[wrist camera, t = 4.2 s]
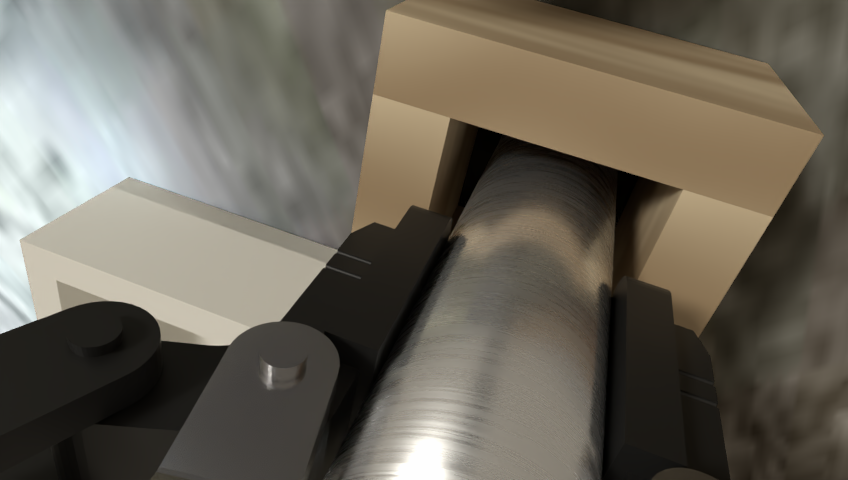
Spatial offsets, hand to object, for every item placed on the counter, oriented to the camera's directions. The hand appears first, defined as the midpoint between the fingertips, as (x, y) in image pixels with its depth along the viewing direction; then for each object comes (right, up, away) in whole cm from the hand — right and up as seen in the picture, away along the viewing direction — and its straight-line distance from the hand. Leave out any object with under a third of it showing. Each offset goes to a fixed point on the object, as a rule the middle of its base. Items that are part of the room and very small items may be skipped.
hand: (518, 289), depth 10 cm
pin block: (+2, +3, +5) cm, 6 cm away
